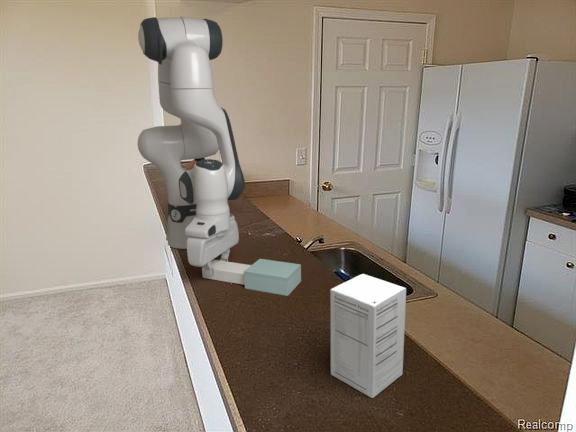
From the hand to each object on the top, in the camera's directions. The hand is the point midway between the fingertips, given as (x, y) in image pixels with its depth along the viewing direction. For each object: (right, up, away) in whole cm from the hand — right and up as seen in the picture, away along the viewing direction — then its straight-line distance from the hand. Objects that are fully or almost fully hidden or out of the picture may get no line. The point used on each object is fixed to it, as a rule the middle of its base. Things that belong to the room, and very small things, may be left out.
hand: (217, 269), depth 118 cm
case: (+16, -3, -6) cm, 17 cm away
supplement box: (+33, -14, -42) cm, 55 cm away
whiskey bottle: (-17, +17, +68) cm, 72 cm away
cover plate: (+4, -2, -1) cm, 4 cm away
